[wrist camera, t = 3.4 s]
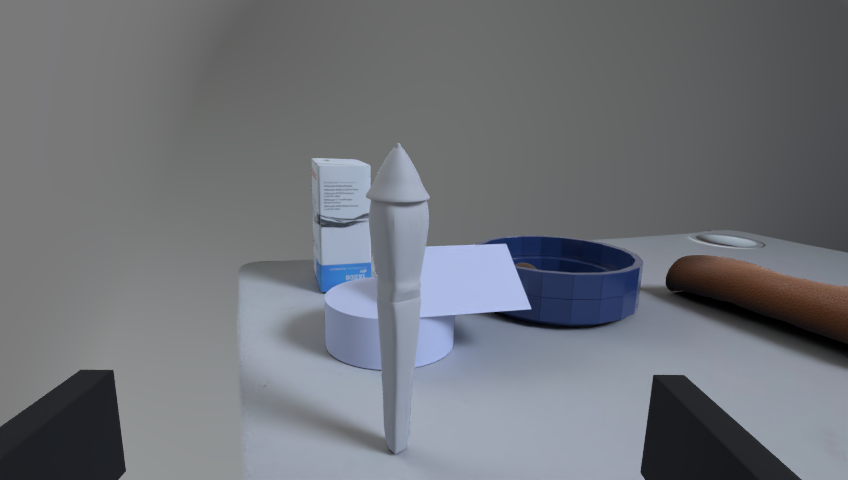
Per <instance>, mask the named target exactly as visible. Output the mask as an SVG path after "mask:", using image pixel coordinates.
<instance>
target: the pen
mask: <svg viewBox="0 0 848 480" xmlns="http://www.w3.org/2000/svg"><path fill="white" fill-rule="evenodd" d="M366 198H368V199H370V200H371V204H370V209H369V230H370V238H371V245H372V252H373V259H374V265H375V270H376V273H377V275H378V278H377V310H378V325H379V338H380V353H381V368H382V386H383V411H384V430H385V438H386V444H387V447H388V448H389V449H390V450H391V451H393V452H394V453H395V454H397V453H399V452H402V451H404V450H406V449H407V446H408V440H409V434H410V419H411V403H412V392H413V382H414V370H415V359H416V349H417V341H418V332H419V322H420V307H421V297H420V295H421V291H420V288H421V281H420V277H421V271H422V265H423V259H424V254H425V248H426V240H427V234H428V226H429V214H428V206H427V200H428V199H429V198H430V197H429V195H428V194H427V192H426V190H425V189H424V187H423V185H422V183H421V180H420V177H419V175H418V173H417V171H416V169H415V167H414V165H413V164H412V162H411V160H410V158H409V157H408V156H407V154H406V152H405V150H404V149H403V148H401V145H400V144H399V143H397V144H396V145H395V148H393V149H392V150H391V152H390V153H389V155H388V156H387V158H386V159H385V161H384V163H383V164H382V166H381V168H380V169H379V171H378V173H377V176H376V178H375V181H374V183H373V185H372V187H371V188H370V189H369V191H368V192H367V194H366Z"/></svg>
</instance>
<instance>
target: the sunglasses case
mask: <svg viewBox="0 0 848 480" xmlns="http://www.w3.org/2000/svg"><path fill="white" fill-rule="evenodd" d="M666 286H667V288H668V289H669V290H670V291H672V292H673V291H685V292H689V293H694V294H697V295H700V296H704V297H706V296H709V297H711V298H713V299H715V300H720V301H726V302H732V303H734V304H736V305H737V306H740V307H743V308H746V309H749V310H751V311H754V312H756V313H759V314H762V315H765V316H768V317H771V318H775V319H778V320H782V321H786V322H788V323H790V324H792V325H795V326H797V327H799V328H802V329H804V330H807V331H810V332H813V333H817V334H820V335H823V336H826V337H828V338H831V339H834V340H837V341H840V342H843V343H846V344H848V287H847V286H836V285H830V284H825V283H819V282H815V281H811V280H807V279H803V278H802V279H801V278H796V277H791V276H787V275H784V274H781V273H777V272H774V271H771V270H769V269H766V268H763V267H761V266H758V265H755V264H751V263H748V262H745V261H740V260H736V259H731V258H724V257H717V256H707V255H691V256H685V257H682V258H680V259H678V260H677V261H676V262H675V263H674V264H673V265H672V266H671V268H670V269H669V271H668V274H667V276H666Z"/></svg>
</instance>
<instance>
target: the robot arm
mask: <svg viewBox="0 0 848 480" xmlns="http://www.w3.org/2000/svg"><path fill="white" fill-rule="evenodd" d="M125 471H126V468H125V461H124V453H123V445H122V437H121V428H120V420H119V412H118V404H117V396H116V389H115V380H114V372H113V370H80V371H78V372H77V373H76V374H74V375H73V376H71V377H70V378H69V379H67V380H66V381H64V382H63V383H62V384H60V385H59V386H57V387H56V388H54V389H53V390H52V391H50V392H49V393H47V394H46V395H45V396H43V397H42V398H40V399H39V400H38V401H36V402H35V403H33V404H32V405H31V406H29V407H28V408H26V409H25V410H24V411H22V412H21V413H19V414H18V415H17V416H15V417H14V418H12V419H11V420H9V421H8V422H7V423H5V424H4V425H3V426H1V427H0V480H118V479H119V478H120V477H121V476H122V475H123V474H124V472H125ZM641 474H642V476H643V477H644V479H645V480H801V479H800V478H799V477H798V476H797V475H796V474H795V473H793V472H792V471H791V470H790V469H789V468H788V467H787V466H786V465H784V464H783V463H782V462H781V461H780V460H779V459H778V458H777V457H775V456H774V455H773V454H772V453H771V452H770V451H769V450H768V449H766V448H765V447H764V446H763V445H762V444H761V443H760V442H759V441H757V440H756V439H755V438H754V437H753V436H752V435H751V434H750V433H748V432H747V431H746V430H745V429H744V428H743V427H742V426H741V425H739V424H738V423H737V422H736V421H735V420H734V419H733V418H732V417H730V416H729V415H728V414H727V413H726V412H725V411H724V410H723V409H721V408H720V407H719V406H718V405H717V404H716V403H715V402H714V401H712V400H711V399H710V398H709V397H708V396H707V395H706V394H705V393H703V392H702V391H701V390H700V389H699V388H698V387H697V386H696V385H694V384H693V383H692V382H691V381H690V380H689V379H688V378H687V377H685V376H684V375H653V383H652V390H651V398H650V405H649V413H648V420H647V428H646V435H645V443H644V450H643V458H642V465H641Z"/></svg>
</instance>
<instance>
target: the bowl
mask: <svg viewBox="0 0 848 480" xmlns="http://www.w3.org/2000/svg"><path fill="white" fill-rule="evenodd" d="M487 244H506V245H507V247H508V250H509V252H510V255H511V257H512V260H513V263H514V265H515V264H517V263H529V264H531V265H533V266H534V267H535V268H536V269H532V268H525V267H519V266H515V268H516V270H517V273H518V275H519V278H520V281H521V283H522V286H523V288H524V291H525V293H526V296H527V299H528V301H529V304H530V306H531V309H526V310H513V311H500V313H502V314H505V315H507V316H510V317H513V318H517V319H520V320H524V321H528V322H533V323H539V324H546V325H555V326H593V325H600V324H605V323H608V322H612V321H617V320H621V319H623V318H625V317H628V316H630V315H632V314H634V313H635V311H636V308H637V306H638V301H639V293H640V285H641V277H642V269H643V260H642V259H641V258H640V257H639V256H638V255H637V254H635V253H633V252H630V251H628V250H626V249H623V248H620V247H616V246H613V245H609V244H606V243H600V242H595V241H590V240H585V239H576V238H568V237H556V236H542V235H541V236H540V235H538V236H537V235H536V236H535V235H521V236H519V235H518V236H504V237H497V238H491V239H486V240H483V241H481V242H479V243H477V244H475V245H487Z"/></svg>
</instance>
